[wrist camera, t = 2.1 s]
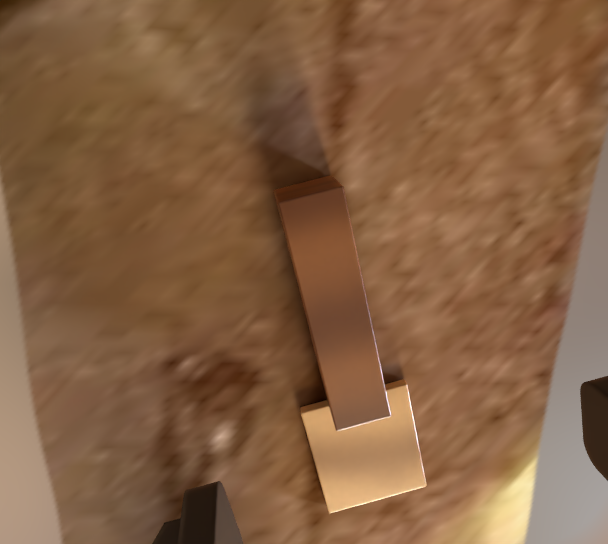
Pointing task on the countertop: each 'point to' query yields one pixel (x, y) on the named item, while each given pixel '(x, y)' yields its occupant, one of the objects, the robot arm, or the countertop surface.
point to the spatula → (346, 357)
